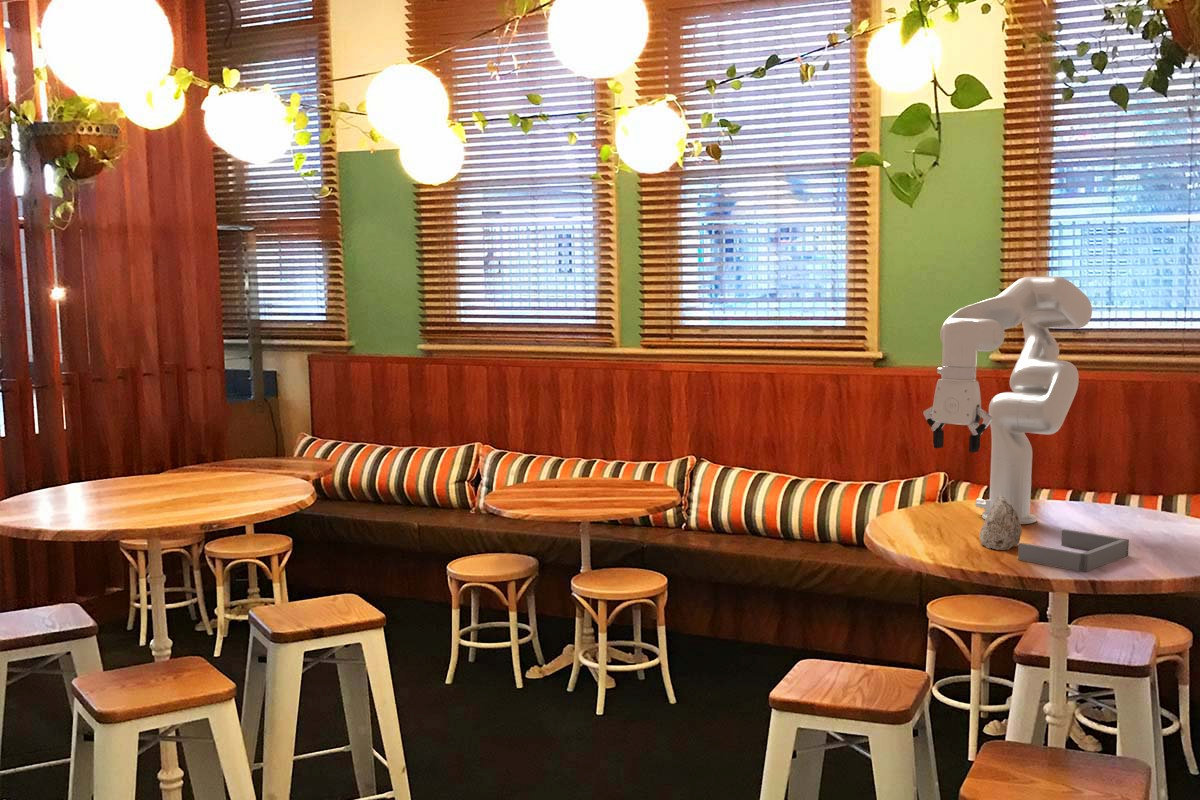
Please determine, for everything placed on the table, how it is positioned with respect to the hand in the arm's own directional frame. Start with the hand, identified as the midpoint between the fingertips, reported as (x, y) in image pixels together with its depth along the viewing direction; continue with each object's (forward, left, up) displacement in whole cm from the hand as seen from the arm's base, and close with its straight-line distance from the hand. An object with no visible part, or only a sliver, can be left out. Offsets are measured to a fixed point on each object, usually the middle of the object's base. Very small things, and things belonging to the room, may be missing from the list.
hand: (955, 449), depth 266 cm
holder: (+28, 0, -20) cm, 35 cm away
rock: (+12, 0, -20) cm, 24 cm away
